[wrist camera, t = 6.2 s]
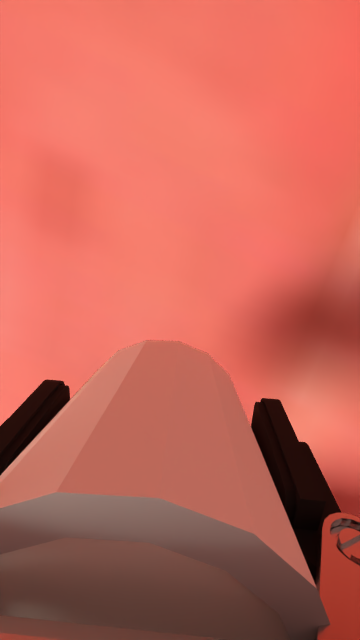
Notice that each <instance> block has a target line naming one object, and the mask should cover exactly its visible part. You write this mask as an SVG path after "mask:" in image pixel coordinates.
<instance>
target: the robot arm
mask: <svg viewBox="0 0 360 640" xmlns="http://www.w3.org/2000/svg"><path fill="white" fill-rule="evenodd" d="M69 400H70V391H69V386H65V384H64V382H63V381H57V380H45V381H43V382H42V383H41V385H40V386H39V387H38V388H37V389H36V390H35V391H34V392H33V393H32V394H31V395H30V396H29V397H28V398H27V399H26V401H25V402H24V403H23V404H22V405H21V406H20V407H19V408H18V409H17V410H16V411H15V412H14V413H13V414H12V415H11V416H10V418H8V419H7V420H6V421H5V422H4V423H3V424H2V425H1V426H0V475H1V474H2V473H3V472H4V471H5V470H6V469H7V468H8V466H9V465H10V464H11V463H12V462H13V461H14V460H15V459H16V458H17V457H18V456H19V455H20V453H21V452H22V451H23V450H24V449H25V448H26V447H27V446H28V445H29V444H30V443H31V442H32V440H33V439H34V438H35V437H36V436H37V435H38V434H39V433H40V432H41V431H42V430H43V429H44V427H45V426H46V425H47V424H48V423H49V422H50V421H51V420H52V419H53V418H54V417H55V416H56V414H57V413H58V412H59V411H60V410H61V409H62V408H63V407H64V406H65V405H66V404H67V403H68V401H69ZM251 428H252V431H253V433H254V436H255V438H256V441H257V443H258V445H259V448H260V450H261V453H262V455H263V458H264V460H265V463H266V465H267V468H268V470H269V472H270V475H271V477H272V480H273V482H274V485H275V487H276V490H277V492H278V494H279V497H280V499H281V502H282V504H283V507H284V509H285V512H286V514H287V516H288V519H289V521H290V524H291V526H292V529H293V531H294V534H295V536H296V539H297V541H298V543H299V546H300V548H301V551H302V553H303V556H304V558H305V561H306V563H307V565H308V568H309V570H310V573H311V575H312V578H313V580H314V583H315V585H316V588H317V590H318V593H319V595H320V598H321V601H322V603H323V606H324V608H325V611H326V614H327V616H328V619H329V622H330V624H327V625H320V626H318V628H317V632H316V635H315V639H314V640H360V518H359V517H357V516H355V515H351V514H348V513H341V511H340V509H339V507H338V505H337V503H336V501H335V499H334V497H333V495H332V493H331V490H330V488H329V486H328V484H327V482H326V480H325V478H324V476H323V474H322V472H321V470H320V468H319V466H318V464H317V462H316V460H315V458H314V456H313V454H312V452H311V450H310V448H309V446H308V445H307V443H305V442H299V441H298V439H297V437H296V434H295V432H294V430H293V428H292V426H291V423H290V421H289V419H288V417H287V415H286V412H285V410H284V408H283V406H282V404H281V402H280V400H278V399H266V398H262V399H261V402H256V403H255V406H254V412H253V418H252V424H251ZM0 640H225V639H217V638H208V637H199V636H190V635H182V634H173V633H163V632H154V631H145V630H136V629H126V628H117V627H108V626H99V625H89V624H80V623H70V622H61V621H52V620H42V619H33V618H23V617H13V616H3V615H0Z"/></svg>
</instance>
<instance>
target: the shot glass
mask: <svg viewBox="0 0 360 640" xmlns="http://www.w3.org/2000/svg"><path fill="white" fill-rule="evenodd" d="M0 615H3V616H13V617H23V618H33V619H42V620H52V621H61V622H70V623H80V624H89V625H99V626H108V627H117V628H126V629H136V630H145V631H154V632H163V633H173V634H182V635H190V636H199V637H208V638H217V639H225V640H314V639H315V635H316V632H317V628H318V626H320V625H327V624H330V622H329V619H328V616H327V614H326V611H325V608H324V606H323V603H322V601H321V598H320V595H319V593H318V590H317V588H316V585H315V583H314V580H313V578H312V575H311V573H310V570H309V568H308V565H307V563H306V561H305V558H304V556H303V553H302V551H301V548H300V546H299V543H298V541H297V539H296V536H295V534H294V531H293V529H292V526H291V524H290V521H289V519H288V516H287V514H286V512H285V509H284V507H283V504H282V502H281V499H280V497H279V494H278V492H277V490H276V487H275V485H274V482H273V480H272V477H271V475H270V472H269V470H268V468H267V465H266V463H265V460H264V458H263V455H262V453H261V450H260V448H259V445H258V443H257V441H256V438H255V436H254V433H253V431H252V428H251V426H250V423H249V421H248V419H247V416H246V414H245V411H244V409H243V406H242V404H241V401H240V399H239V397H238V394H237V392H236V389H235V387H234V384H233V382H232V379H231V377H230V375H229V374H228V373H227V372H226V371H225V370H224V369H223V368H222V367H221V366H220V365H219V364H218V363H217V362H216V361H215V360H214V359H213V358H212V357H211V356H210V355H209V354H208V353H206V352H203V351H201V350H199V349H196V348H194V347H191V346H189V345H187V344H184V343H182V342H180V341H156V340H146V341H143V342H141V343H138V344H135V345H132V346H129V347H127V348H124V349H121V350H118V351H117V352H116V353H115V354H114V355H113V356H112V357H111V358H110V359H109V360H108V361H107V362H105V363H104V364H103V365H102V366H101V367H100V368H99V369H98V370H97V371H96V372H95V373H94V374H93V375H92V377H91V378H90V379H89V380H88V381H87V382H86V383H85V384H84V385H83V386H82V387H81V388H80V390H79V391H78V392H77V393H76V394H75V395H74V396H73V397H72V398H71V399H70V400H69V401H68V403H67V404H66V405H65V406H64V407H63V408H62V409H61V410H60V411H59V412H58V413H57V414H56V416H55V417H54V418H53V419H52V420H51V421H50V422H49V423H48V424H47V425H46V426H45V427H44V429H43V430H42V431H41V432H40V433H39V434H38V435H37V436H36V437H35V438H34V439H33V440H32V442H31V443H30V444H29V445H28V446H27V447H26V448H25V449H24V450H23V451H22V452H21V453H20V455H19V456H18V457H17V458H16V459H15V460H14V461H13V462H12V463H11V464H10V465H9V466H8V468H7V469H6V470H5V471H4V472H3V473H2V474H1V475H0Z"/></svg>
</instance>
